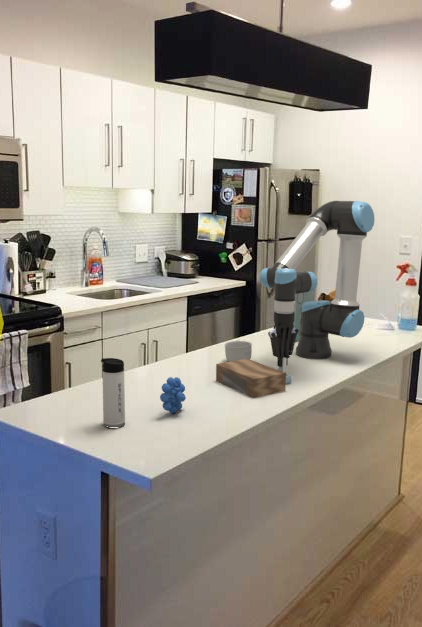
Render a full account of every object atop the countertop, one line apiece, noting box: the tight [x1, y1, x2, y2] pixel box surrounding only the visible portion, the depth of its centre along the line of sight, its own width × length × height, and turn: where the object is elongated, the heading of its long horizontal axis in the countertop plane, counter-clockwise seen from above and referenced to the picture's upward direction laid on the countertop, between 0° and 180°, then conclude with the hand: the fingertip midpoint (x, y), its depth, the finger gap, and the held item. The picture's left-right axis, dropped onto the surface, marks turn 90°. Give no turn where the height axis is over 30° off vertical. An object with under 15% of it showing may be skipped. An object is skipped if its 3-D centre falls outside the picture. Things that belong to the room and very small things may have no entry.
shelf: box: [215, 359, 287, 399], centre depth 221 cm, size 14×22×6 cm, turn 35°
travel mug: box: [100, 357, 126, 428], centre depth 181 cm, size 6×7×20 cm
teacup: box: [224, 339, 253, 362], centre depth 252 cm, size 14×11×8 cm
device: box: [293, 288, 316, 343], centre depth 291 cm, size 16×8×30 cm, turn 140°
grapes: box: [159, 376, 187, 414], centre depth 191 cm, size 12×7×12 cm, turn 146°
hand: (282, 374), depth 229 cm, fingers closed
